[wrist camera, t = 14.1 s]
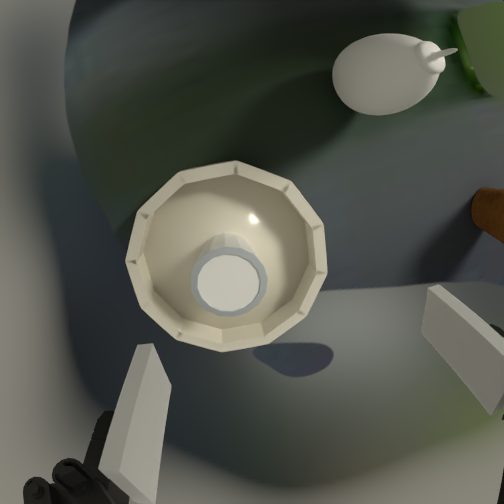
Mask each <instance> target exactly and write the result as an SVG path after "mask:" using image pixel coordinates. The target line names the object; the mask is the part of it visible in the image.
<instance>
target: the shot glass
mask: <svg viewBox="0 0 504 504" xmlns="http://www.w3.org/2000/svg"><path fill="white" fill-rule="evenodd" d="M267 281H268V278H267V275H266V271H265V268H264V265H263V264H262V262H261V261H260V259H259V258H258V256H257V255H256V253H255V252H254V250H253V248H252V247H251V245H250V244H249V243H248V242H247V241H246V239H245V238H244V237H242V236H240V235H238V234H236V233H229V232H223V233H220V234H217V235H214V236H213V237H212V238H211V239H209V240H208V241H207V242H206V244H205V246H204V248H203V250H202V252H201V254H200V256H199V258H198V260H197V262H196V264H195V267H194V269H193V271H192V273H191V290H192V293H193V295H194V297H195V300H196V301H197V302H198V303H199V304H200V305H201V306H202V307H203V308H204V309H205V310H206V311H209V312H211V313H213V314H215V315H218V316H228V317H234V316H238V315H241V314H245V313H248V312H249V311H250V310H252V309H253V308H254V307H256V306H257V305H258V304H259V303H260V301H261V300H262V298H263V296H264V295H265V293H266V288H267Z"/></svg>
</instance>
